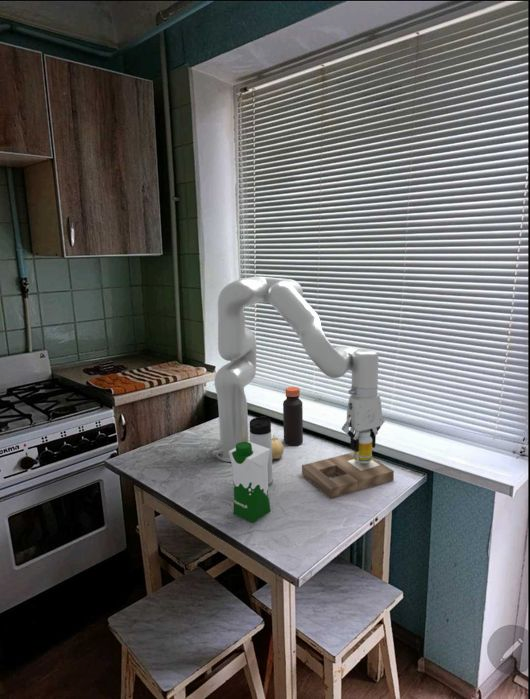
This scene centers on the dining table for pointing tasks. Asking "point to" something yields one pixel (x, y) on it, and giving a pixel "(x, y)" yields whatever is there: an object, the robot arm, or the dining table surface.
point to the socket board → (346, 474)
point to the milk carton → (250, 480)
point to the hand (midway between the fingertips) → (362, 447)
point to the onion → (276, 448)
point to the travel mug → (262, 438)
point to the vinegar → (293, 417)
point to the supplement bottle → (364, 447)
